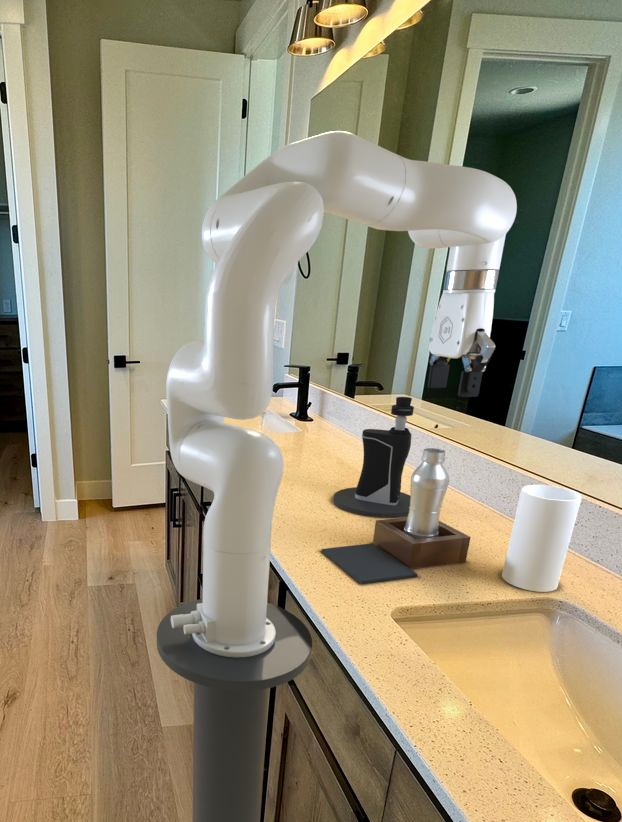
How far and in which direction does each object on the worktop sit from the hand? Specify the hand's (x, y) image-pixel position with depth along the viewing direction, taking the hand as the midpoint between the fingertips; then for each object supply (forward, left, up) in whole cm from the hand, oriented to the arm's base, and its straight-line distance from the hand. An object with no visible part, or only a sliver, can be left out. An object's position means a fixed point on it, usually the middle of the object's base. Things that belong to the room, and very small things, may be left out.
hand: (451, 392), depth 98 cm
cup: (+10, -14, -31) cm, 35 cm away
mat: (-13, -1, -30) cm, 33 cm away
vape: (+7, +28, -31) cm, 42 cm away
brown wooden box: (-1, +1, -30) cm, 30 cm away
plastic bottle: (-1, +1, -31) cm, 31 cm away
